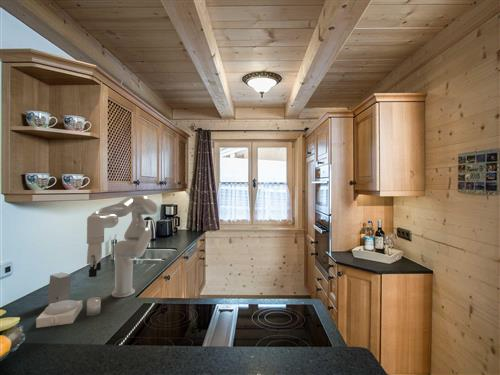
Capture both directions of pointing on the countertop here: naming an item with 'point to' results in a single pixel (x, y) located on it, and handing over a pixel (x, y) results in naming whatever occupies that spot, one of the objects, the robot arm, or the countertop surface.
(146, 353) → the countertop surface
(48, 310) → the scale
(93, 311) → the steel spacer
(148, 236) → the robot arm
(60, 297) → the skincare box
